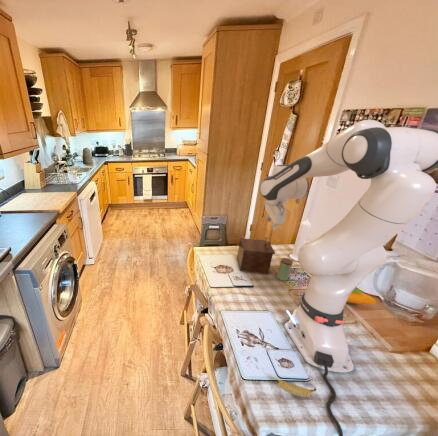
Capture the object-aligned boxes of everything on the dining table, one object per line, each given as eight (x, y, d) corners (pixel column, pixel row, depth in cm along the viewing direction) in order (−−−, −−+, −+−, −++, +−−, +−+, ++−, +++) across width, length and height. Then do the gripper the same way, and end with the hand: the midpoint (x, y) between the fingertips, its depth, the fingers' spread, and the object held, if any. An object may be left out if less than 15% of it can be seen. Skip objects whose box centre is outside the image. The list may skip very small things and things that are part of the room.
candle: (306, 261, 127) (319, 220, 117) (293, 261, 127) (305, 220, 117) (299, 254, 134) (310, 215, 123) (286, 254, 134) (297, 215, 124)
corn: (319, 275, 104) (376, 287, 96) (314, 288, 107) (369, 300, 100) (322, 287, 98) (384, 300, 90) (317, 299, 101) (376, 313, 94)
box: (262, 260, 129) (266, 241, 124) (268, 273, 118) (272, 254, 113) (237, 257, 132) (239, 239, 127) (240, 270, 121) (243, 251, 116)
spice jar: (289, 281, 113) (294, 264, 108) (278, 279, 114) (282, 263, 109) (286, 274, 117) (290, 258, 113) (275, 273, 118) (279, 257, 114)
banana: (276, 393, 68) (279, 384, 66) (274, 384, 70) (276, 376, 68) (314, 401, 65) (318, 393, 64) (311, 392, 68) (315, 384, 66)
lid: (268, 241, 124) (270, 233, 122) (274, 254, 113) (277, 245, 111) (240, 239, 127) (241, 231, 125) (243, 251, 116) (245, 242, 114)
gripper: (292, 207, 98) (284, 235, 104) (278, 192, 116) (272, 217, 122) (276, 206, 100) (269, 234, 105) (264, 191, 118) (259, 216, 123)
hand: (271, 225), depth 114 cm, fingers open, 8 cm apart
